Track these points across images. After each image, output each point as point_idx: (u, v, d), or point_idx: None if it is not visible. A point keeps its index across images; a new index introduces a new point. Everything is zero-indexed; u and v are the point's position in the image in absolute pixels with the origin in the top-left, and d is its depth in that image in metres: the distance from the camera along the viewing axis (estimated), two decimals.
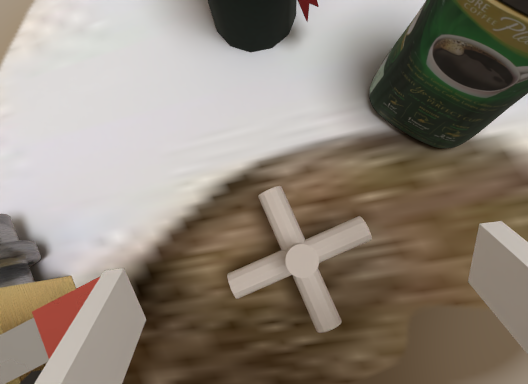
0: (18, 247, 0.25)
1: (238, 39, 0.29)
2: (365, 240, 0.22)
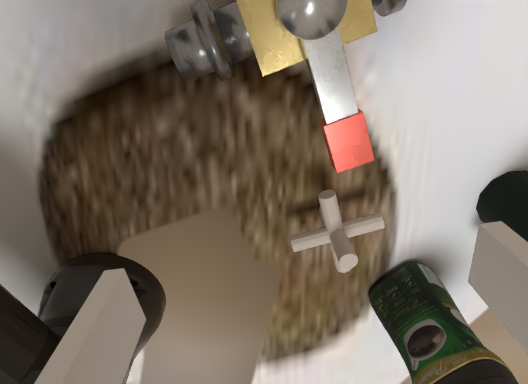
0: (395, 11, 0.27)
1: (494, 192, 0.38)
2: (338, 268, 0.37)
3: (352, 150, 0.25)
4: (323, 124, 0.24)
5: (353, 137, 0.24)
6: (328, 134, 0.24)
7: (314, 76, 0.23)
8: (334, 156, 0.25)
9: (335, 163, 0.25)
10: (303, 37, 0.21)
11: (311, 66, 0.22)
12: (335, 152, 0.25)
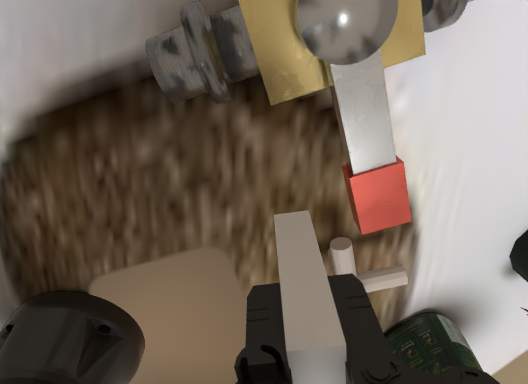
0: (442, 27, 0.21)
1: None
2: None
3: (384, 208, 0.19)
4: (348, 173, 0.18)
5: (387, 192, 0.18)
6: (355, 187, 0.18)
7: (342, 113, 0.17)
8: (360, 214, 0.19)
9: (360, 223, 0.19)
10: (331, 61, 0.15)
11: (339, 100, 0.16)
12: (362, 210, 0.19)
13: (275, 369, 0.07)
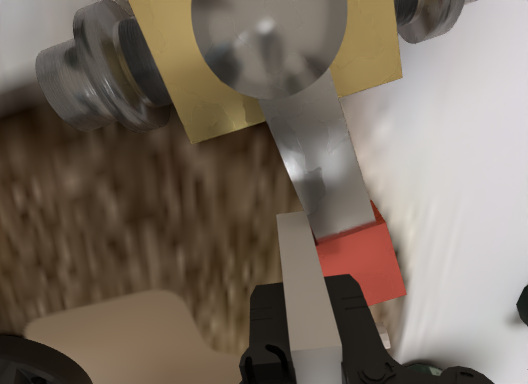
0: (432, 37, 0.16)
1: None
2: None
3: (366, 281, 0.14)
4: None
5: (367, 262, 0.13)
6: (321, 258, 0.13)
7: (287, 164, 0.11)
8: None
9: None
10: (256, 95, 0.10)
11: (279, 147, 0.11)
12: None
13: (279, 369, 0.07)
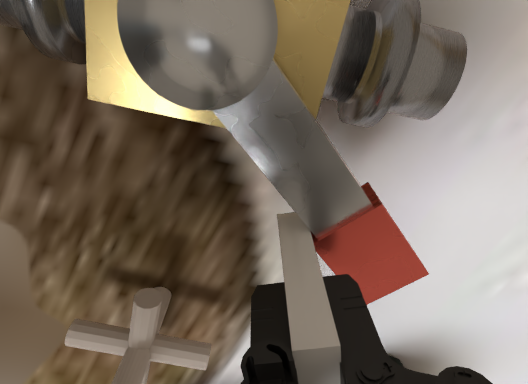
0: None
1: None
2: None
3: (380, 268, 0.13)
4: None
5: (375, 248, 0.12)
6: (324, 254, 0.12)
7: (261, 167, 0.11)
8: None
9: None
10: (209, 107, 0.10)
11: (248, 152, 0.11)
12: None
13: (281, 368, 0.07)
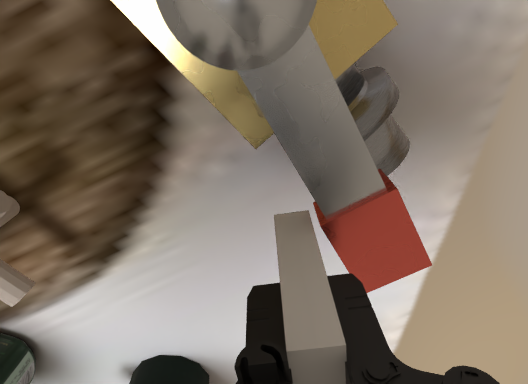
0: None
1: (166, 369, 0.30)
2: None
3: (386, 255, 0.13)
4: (320, 217, 0.12)
5: (384, 234, 0.12)
6: (333, 236, 0.12)
7: (280, 139, 0.11)
8: (352, 270, 0.13)
9: None
10: (236, 67, 0.09)
11: (269, 121, 0.10)
12: (352, 263, 0.13)
13: (275, 369, 0.07)
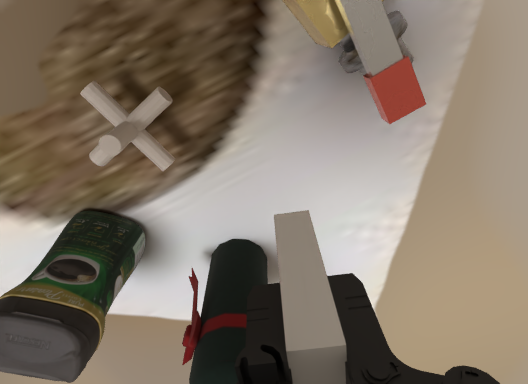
0: (346, 68, 0.30)
1: (239, 245, 0.43)
2: (92, 153, 0.32)
3: (402, 97, 0.25)
4: (369, 77, 0.25)
5: (401, 84, 0.24)
6: (376, 85, 0.24)
7: (354, 30, 0.23)
8: (384, 107, 0.25)
9: (386, 114, 0.25)
10: None
11: (349, 20, 0.23)
12: (385, 103, 0.25)
13: (275, 369, 0.07)
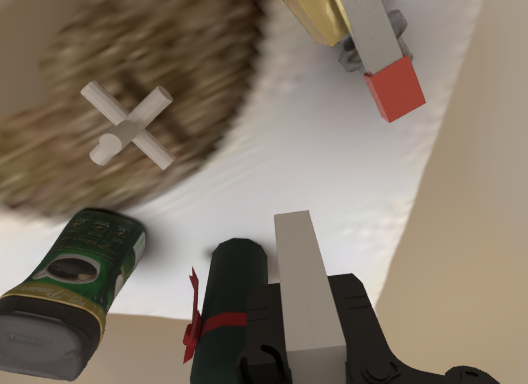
0: (346, 67, 0.30)
1: (240, 245, 0.43)
2: (92, 152, 0.32)
3: (402, 96, 0.25)
4: (369, 76, 0.25)
5: (401, 83, 0.24)
6: (376, 84, 0.24)
7: (353, 28, 0.23)
8: (384, 106, 0.25)
9: (386, 113, 0.25)
10: None
11: (349, 19, 0.23)
12: (385, 102, 0.25)
13: (275, 369, 0.07)
